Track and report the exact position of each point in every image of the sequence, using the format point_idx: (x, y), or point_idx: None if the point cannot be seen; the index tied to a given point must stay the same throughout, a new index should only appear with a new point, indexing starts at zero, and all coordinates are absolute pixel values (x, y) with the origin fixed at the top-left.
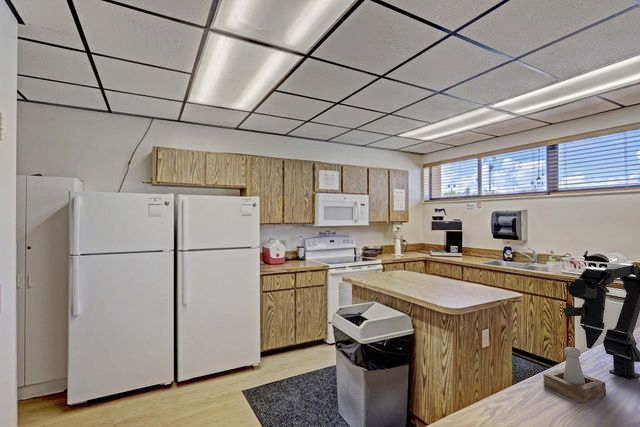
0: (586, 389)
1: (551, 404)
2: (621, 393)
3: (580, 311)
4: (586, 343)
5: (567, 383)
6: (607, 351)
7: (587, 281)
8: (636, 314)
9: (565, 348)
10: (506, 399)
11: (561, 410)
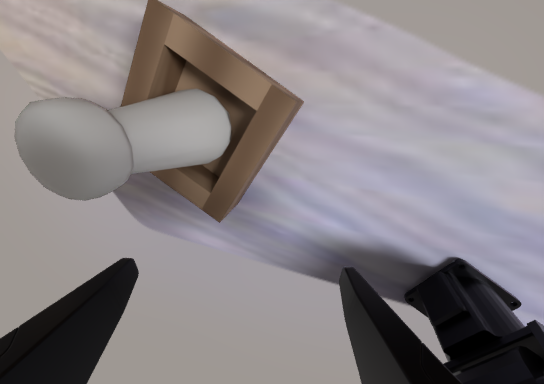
0: None
1: (81, 55)
2: (273, 242)
3: None
4: (92, 278)
5: (128, 103)
6: (539, 338)
7: None
8: None
9: (32, 106)
10: None
11: (72, 84)
